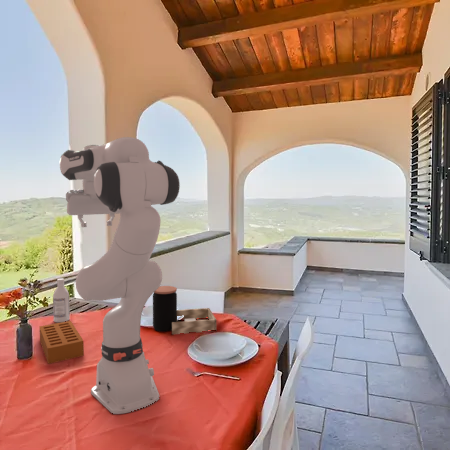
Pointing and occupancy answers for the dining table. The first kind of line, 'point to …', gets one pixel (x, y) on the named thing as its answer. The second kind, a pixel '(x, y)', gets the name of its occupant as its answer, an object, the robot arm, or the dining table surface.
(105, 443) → the dining table surface
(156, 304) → the coffee jar
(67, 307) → the bath foam
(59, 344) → the brick
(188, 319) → the tile cream
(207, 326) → the tray
